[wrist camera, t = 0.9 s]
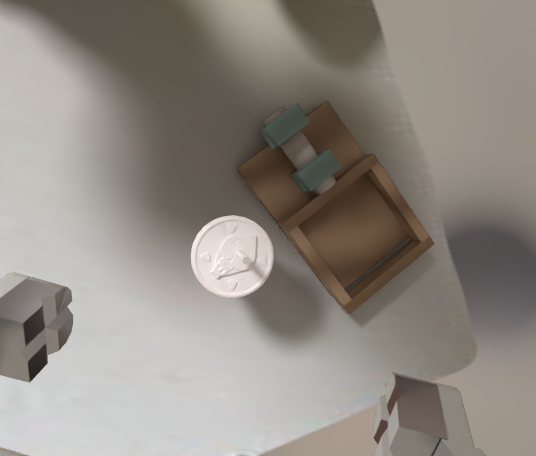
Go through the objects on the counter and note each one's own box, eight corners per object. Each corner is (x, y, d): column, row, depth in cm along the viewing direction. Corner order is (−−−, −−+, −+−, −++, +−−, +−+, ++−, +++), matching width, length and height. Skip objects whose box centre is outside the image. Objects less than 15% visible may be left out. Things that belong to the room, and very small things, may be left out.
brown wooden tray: (224, 152, 43) (228, 147, 39) (312, 85, 44) (325, 74, 40) (339, 306, 46) (354, 317, 42) (419, 240, 47) (441, 245, 43)
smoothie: (268, 246, 44) (306, 268, 30) (220, 290, 44) (237, 333, 30) (225, 197, 43) (243, 198, 29) (175, 242, 42) (170, 264, 29)
